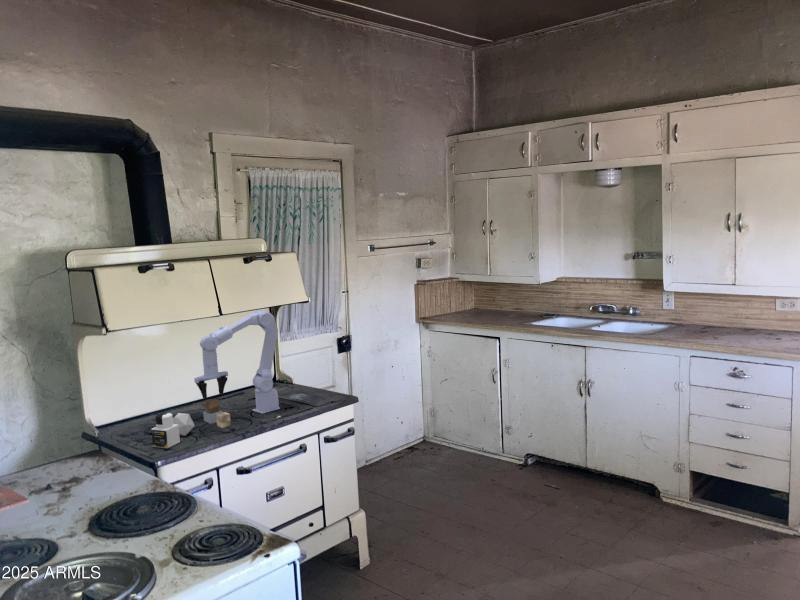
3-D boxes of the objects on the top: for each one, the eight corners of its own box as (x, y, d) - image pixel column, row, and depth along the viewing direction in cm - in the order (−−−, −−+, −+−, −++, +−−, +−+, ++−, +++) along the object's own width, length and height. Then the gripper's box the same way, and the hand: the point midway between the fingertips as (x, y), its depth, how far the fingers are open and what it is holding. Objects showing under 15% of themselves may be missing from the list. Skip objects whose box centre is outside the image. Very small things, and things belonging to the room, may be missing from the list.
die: (199, 433, 261) (192, 410, 265) (190, 429, 252) (183, 405, 256) (179, 442, 260) (173, 419, 264) (170, 438, 252) (163, 414, 256)
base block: (217, 417, 279) (216, 408, 279) (223, 420, 275) (222, 411, 274) (204, 421, 275) (203, 412, 275) (210, 424, 271) (209, 414, 270)
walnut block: (219, 411, 275) (218, 399, 274) (211, 413, 272) (210, 402, 271) (214, 409, 277) (213, 398, 277) (205, 412, 274) (204, 400, 274)
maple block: (225, 423, 270) (224, 412, 269) (230, 425, 267) (229, 413, 266) (216, 426, 267) (216, 414, 266) (222, 428, 264) (221, 416, 264)
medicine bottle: (152, 447, 245) (149, 416, 243) (165, 440, 251) (162, 410, 250) (167, 448, 242) (164, 417, 241) (180, 442, 249) (177, 411, 247)
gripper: (221, 360, 280) (223, 390, 282) (189, 366, 270) (192, 398, 272) (229, 362, 276) (232, 393, 277) (198, 368, 265) (200, 401, 267)
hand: (213, 396), depth 274 cm, fingers open, 7 cm apart
